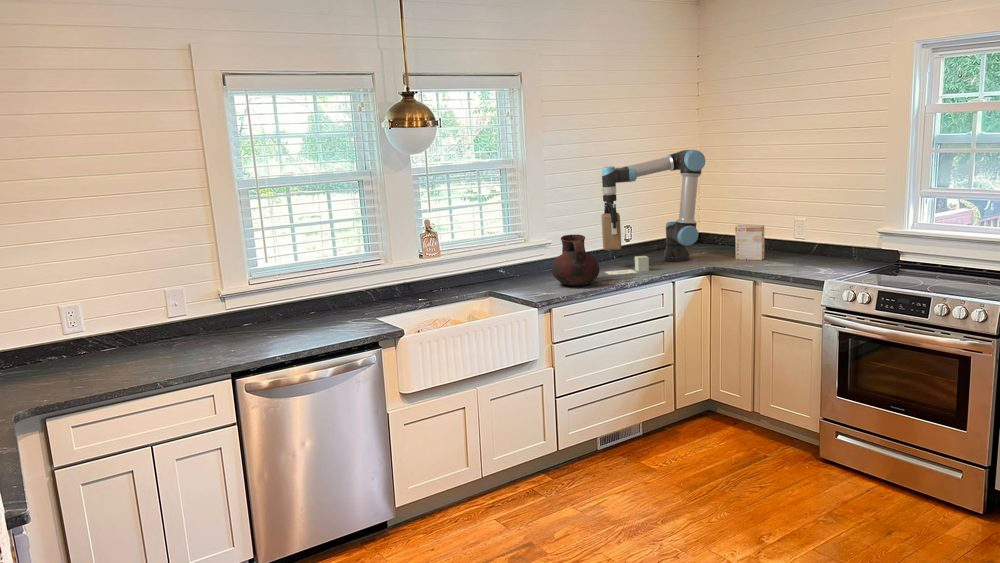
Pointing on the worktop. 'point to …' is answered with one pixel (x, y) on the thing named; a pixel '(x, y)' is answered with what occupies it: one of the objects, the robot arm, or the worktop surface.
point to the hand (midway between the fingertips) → (611, 232)
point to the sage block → (641, 263)
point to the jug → (574, 263)
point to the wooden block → (610, 233)
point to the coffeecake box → (749, 242)
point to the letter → (621, 272)
